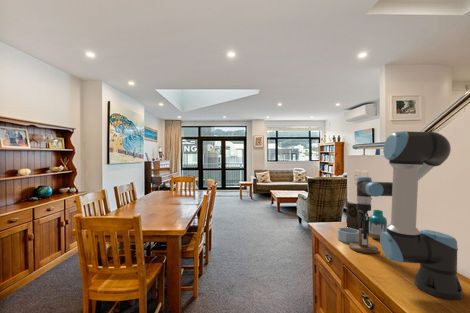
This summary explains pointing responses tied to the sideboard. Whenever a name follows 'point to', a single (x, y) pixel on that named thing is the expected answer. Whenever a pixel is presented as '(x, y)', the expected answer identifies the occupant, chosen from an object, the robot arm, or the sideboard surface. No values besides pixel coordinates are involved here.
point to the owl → (352, 216)
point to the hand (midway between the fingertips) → (363, 243)
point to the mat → (366, 253)
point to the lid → (363, 248)
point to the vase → (377, 224)
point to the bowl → (347, 235)
